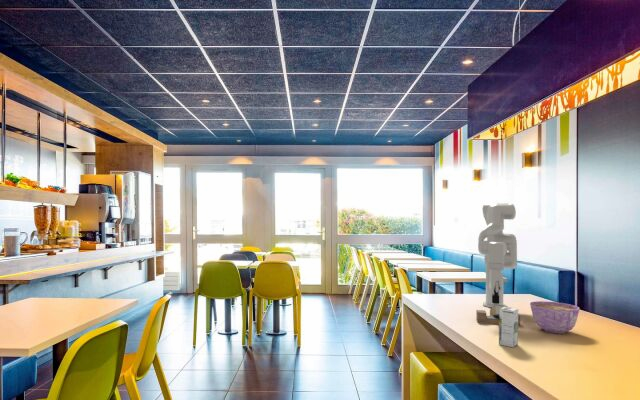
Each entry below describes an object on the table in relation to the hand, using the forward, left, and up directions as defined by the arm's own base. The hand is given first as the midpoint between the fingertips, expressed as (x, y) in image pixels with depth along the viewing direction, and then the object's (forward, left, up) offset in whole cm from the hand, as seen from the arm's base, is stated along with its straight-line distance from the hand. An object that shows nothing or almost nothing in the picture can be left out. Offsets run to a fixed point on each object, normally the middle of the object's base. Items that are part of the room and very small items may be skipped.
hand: (495, 303), depth 219 cm
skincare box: (-3, 0, -6) cm, 7 cm away
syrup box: (+46, -1, -8) cm, 47 cm away
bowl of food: (+15, +23, -8) cm, 29 cm away
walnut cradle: (+7, 0, -8) cm, 11 cm away
